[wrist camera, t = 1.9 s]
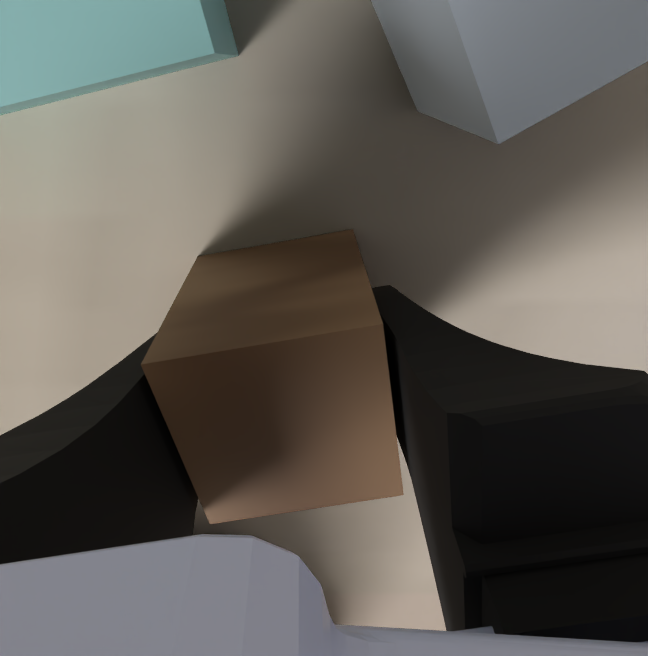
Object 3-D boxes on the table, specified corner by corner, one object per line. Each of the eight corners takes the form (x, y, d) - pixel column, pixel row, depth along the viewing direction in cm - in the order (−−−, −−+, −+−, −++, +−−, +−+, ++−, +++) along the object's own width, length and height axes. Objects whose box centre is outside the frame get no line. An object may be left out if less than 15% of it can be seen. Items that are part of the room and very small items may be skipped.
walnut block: (352, 228, 12) (382, 324, 8) (370, 359, 14) (403, 495, 10) (198, 255, 12) (140, 364, 8) (237, 381, 14) (209, 524, 10)
